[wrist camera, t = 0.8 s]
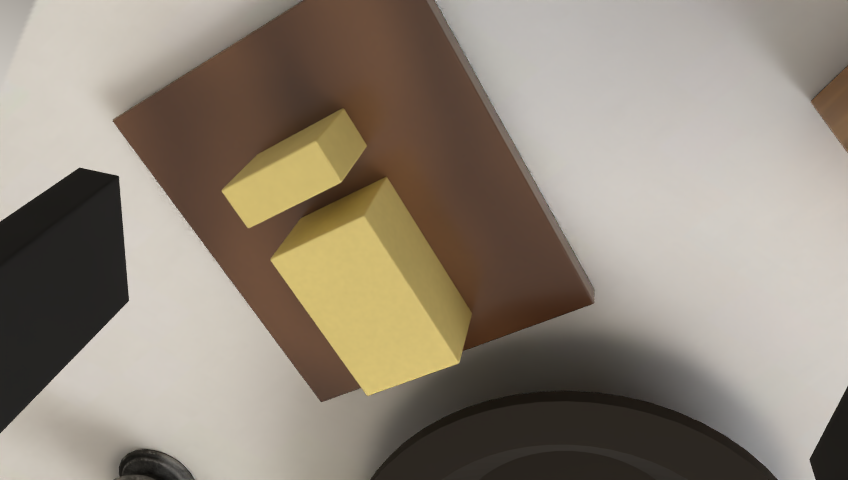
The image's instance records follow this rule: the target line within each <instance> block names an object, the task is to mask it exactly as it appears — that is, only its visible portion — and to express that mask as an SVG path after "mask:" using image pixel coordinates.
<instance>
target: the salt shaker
mask: <svg viewBox="0 0 848 480" xmlns="http://www.w3.org/2000/svg"><path fill="white" fill-rule="evenodd" d="M119 475H120V477H119V478H116V479H114V480H194V479H193V477H192V475H191V473H190V472H189V471H188V470H187V469H186V468H185V467H184V466H183V465H182V464H181V463H179V462H178V461H177V460H175V459H174V458H172V457H170V456H168V455H166V454H164V453H160V452H157V451H153V450H136V451H133V452H131V453H129V454H127V455H126V456H125V457H124V458H123V459H122V461H121V464H120V466H119Z"/></svg>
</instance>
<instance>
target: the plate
mask: <svg viewBox="0 0 848 480" xmlns="http://www.w3.org/2000/svg"><path fill="white" fill-rule="evenodd" d="M370 480H778V479H777V478H776V477H775V476H774V475H773V474H772V473H771V472H770V471H769V470H768V469H767V468H766V467H765V466H764V465H763V464H762V463H761V462H759V461H758V460H757V459H756V458H755V457H754V456H752V455H751V454H750V453H749V452H748V451H746V450H745V449H744V448H742V447H741V446H739V445H738V444H736V443H735V442H734V441H732V440H731V439H729V438H728V437H726V436H725V435H723V434H721V433H719V432H718V431H716V430H714V429H712V428H710V427H709V426H707V425H705V424H703V423H701V422H699V421H697V420H694V419H692V418H690V417H688V416H685V415H683V414H681V413H679V412H676V411H673V410H670V409H667V408H664V407H661V406H658V405H655V404H652V403H649V402H645V401H640V400H636V399H632V398H628V397H624V396H617V395H610V394H603V393H596V392H580V391H547V392H534V393H526V394H518V395H512V396H507V397H503V398H498V399H493V400H489V401H486V402H483V403H480V404H476V405H473V406H470V407H467V408H464V409H462V410H460V411H457V412H455V413H453V414H450V415H448V416H446V417H444V418H442V419H440V420H438V421H436V422H435V423H433V424H431V425H429V426H427V427H426V428H424V429H422V430H421V431H420V432H418V433H417V434H415V435H414V436H413V437H411V438H410V439H408V440H407V441H406V442H404V443H403V444H402V445H401V446H400V447H399V448H398V449H397V450H395V451H394V452H393V453H392V454H391V455H390V456H389V457H388V458H387V459H386V461H385V462H384V463H383V464H382V465H381V466H380V467H379V468H378V470H377V471H376V472H375V474H374V475H373V477H372V478H371V479H370Z"/></svg>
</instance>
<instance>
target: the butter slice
mask: <svg viewBox="0 0 848 480" xmlns="http://www.w3.org/2000/svg"><path fill="white" fill-rule="evenodd" d="M366 147H367V145H366V143H365V141H364V140H363V138H362V137H361V135H360V133H359V132H358V130H357V129H356V127H355V125H354V124H353V122H352V121H351V119H350V117H349V116H348V114H347V113H346V111H345V109H340V110H338V111H337V112H335V113H333V114H331V115H329V116H327V117H326V118H324V119H322V120H320V121H318V122H316V123H314V124H313V125H311V126H309V127H307V128H305V129H303V130H302V131H300V132H298V133H296V134H294V135H292V136H291V137H289V138H287V139H285V140H283V141H281V142H279V143H278V144H276V145H274V146H272V147H270V148H268V149H267V150H265V151H263V152H261V153H259V154H257V155H256V156H255V157H254V158H253V159H252V160H251V161H250V162H249V163H248V164H247V165H246V166H245V167H244V168H243V169H242V170H241V171H240V172H239V173H238V174H237V175H236V176H235V177H234V178H233V179H232V180H231V181H230V182H229V183H228V184H227V185H226V186H225V187H224V188H223V189H222V193H223V194H224V196H225V197H226V198H227V200H228V201H229V203H230V204H231V205H232V207H233V208H234V210H235V211H236V212H237V214H238V215H239V217H240V218H241V219H242V221H243V222H244V224H245V225H246V226H247V228H251V227H253V226H255V225H257V224H259V223H261V222H263V221H265V220H267V219H269V218H271V217H273V216H275V215H277V214H279V213H281V212H283V211H285V210H287V209H289V208H291V207H293V206H295V205H297V204H299V203H301V202H303V201H305V200H307V199H309V198H311V197H313V196H315V195H317V194H319V193H321V192H323V191H325V190H327V189H329V188H331V187H333V186H335V185H337V184H339V183H341V182H342V181H343V179H344V178H345V177H346V175H347V174H348V172H349V171H350V170H351V168H352V167H353V165H354V164H355V162H356V161H357V160H358V158H359V157H360V155H361V154H362V153H363V151H364V150H365V148H366Z"/></svg>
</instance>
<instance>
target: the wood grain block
mask: <svg viewBox="0 0 848 480" xmlns="http://www.w3.org/2000/svg"><path fill="white" fill-rule="evenodd" d="M811 103H812V105H813V106H814V108H815V109H816V110H817V112H818V113H819V114H820V116H821V117H822V119H823V120H824V121H825V123H826V124H827V125H828V127H829V128H830V130H831V131H832V132H833V134H834V135H835V136H836V138H837V139H838V141H839V142H840V143H841V145H842V146H843V147H844V149H845V150H846V151H847V153H848V66H847V67H846V68H845V69H844V70H843V71H842V72H841V73H840V74H839V75H837V76H836V77H835V78H834V79H833V80H832V81H831V82H830V83H829V84H828V85H827V86H826V87H825V88H824V89H823V90H822V91H821V92H820V93H819V94H818V95H817V96H816V97H815V98H814V99H813V100H812V101H811Z"/></svg>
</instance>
